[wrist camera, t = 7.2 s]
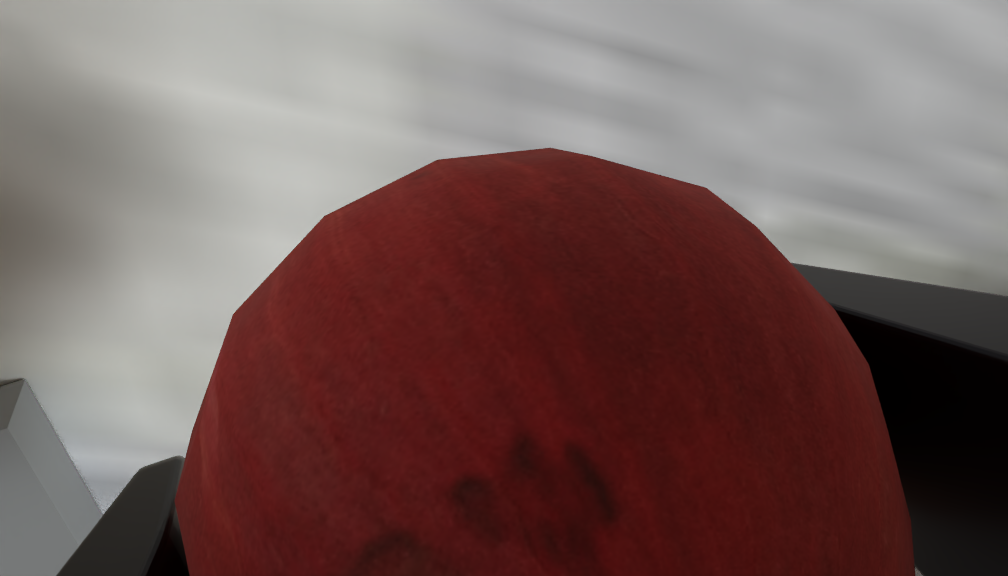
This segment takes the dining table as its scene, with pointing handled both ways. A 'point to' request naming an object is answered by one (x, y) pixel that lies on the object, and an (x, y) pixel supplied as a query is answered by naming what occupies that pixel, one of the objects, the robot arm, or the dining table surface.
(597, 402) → the onion
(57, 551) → the gray board
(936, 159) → the dining table surface
